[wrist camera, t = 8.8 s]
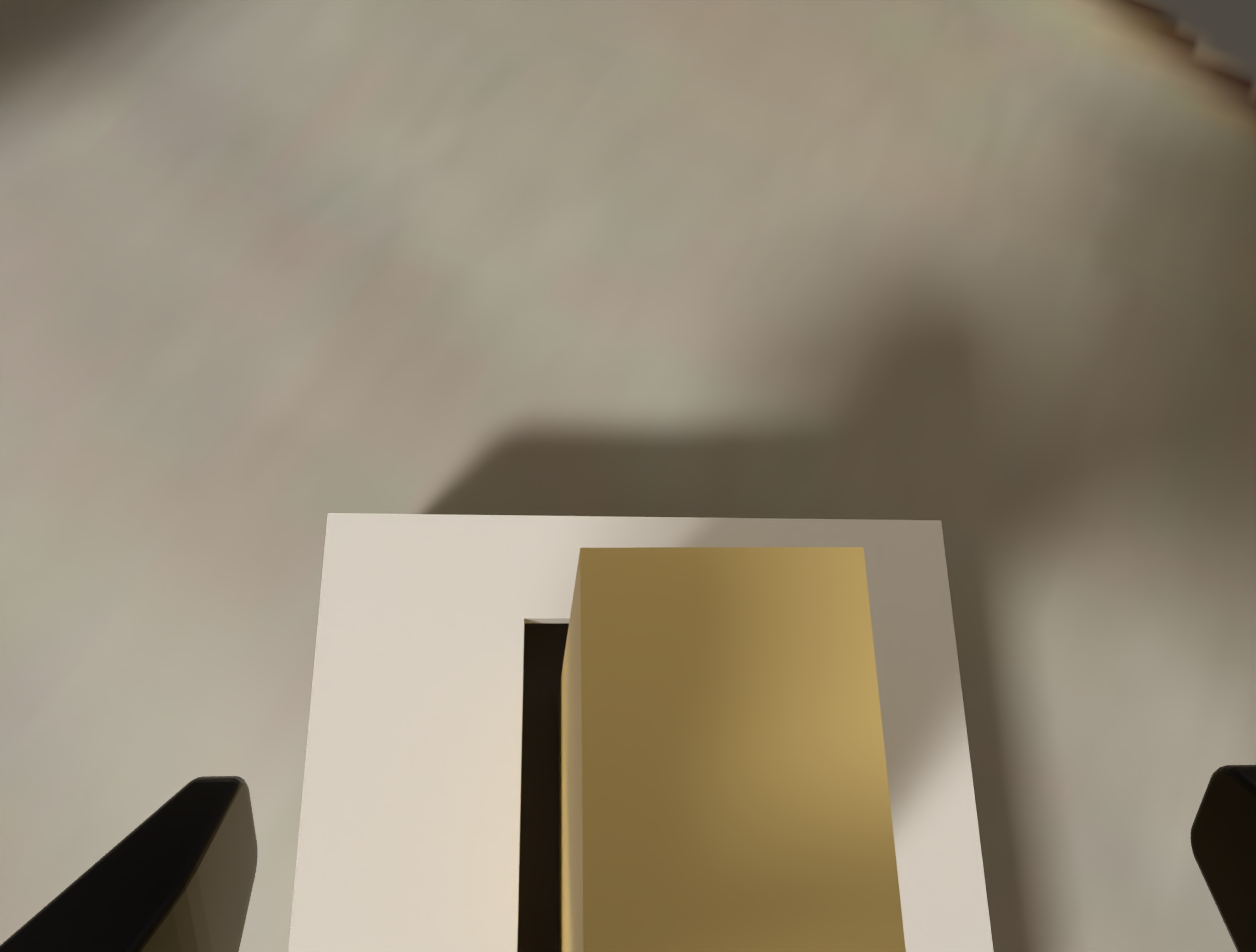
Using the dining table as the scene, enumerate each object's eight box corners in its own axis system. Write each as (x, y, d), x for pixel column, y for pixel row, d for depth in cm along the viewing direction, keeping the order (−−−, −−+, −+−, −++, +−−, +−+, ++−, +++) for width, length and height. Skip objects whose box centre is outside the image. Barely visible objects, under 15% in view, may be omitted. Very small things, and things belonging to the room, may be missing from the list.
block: (706, 989, 20) (934, 1222, 9) (558, 995, 20) (586, 1242, 8) (692, 692, 22) (863, 547, 11) (558, 693, 22) (580, 547, 10)
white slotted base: (925, 1151, 20) (1028, 1238, 16) (320, 1177, 19) (259, 1277, 15) (870, 573, 24) (941, 520, 20) (366, 569, 23) (328, 513, 19)
